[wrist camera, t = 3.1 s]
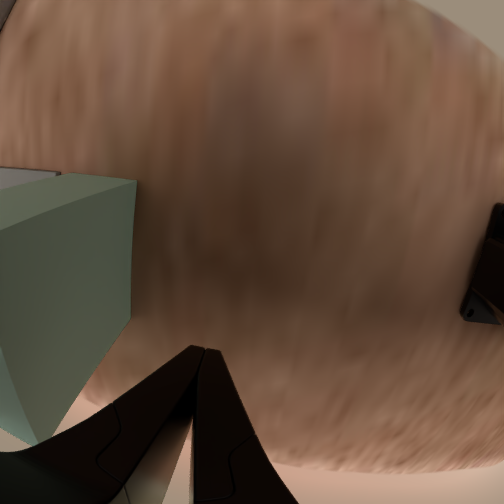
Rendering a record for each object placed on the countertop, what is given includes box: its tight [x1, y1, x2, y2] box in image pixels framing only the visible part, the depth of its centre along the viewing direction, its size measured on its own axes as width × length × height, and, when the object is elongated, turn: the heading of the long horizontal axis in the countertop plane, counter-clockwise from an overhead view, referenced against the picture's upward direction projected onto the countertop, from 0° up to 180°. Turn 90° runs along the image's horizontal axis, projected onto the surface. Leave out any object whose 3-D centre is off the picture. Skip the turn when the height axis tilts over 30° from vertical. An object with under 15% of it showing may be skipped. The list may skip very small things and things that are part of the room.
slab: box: [0, 173, 137, 446], centre depth 10 cm, size 4×7×9 cm, turn 170°
